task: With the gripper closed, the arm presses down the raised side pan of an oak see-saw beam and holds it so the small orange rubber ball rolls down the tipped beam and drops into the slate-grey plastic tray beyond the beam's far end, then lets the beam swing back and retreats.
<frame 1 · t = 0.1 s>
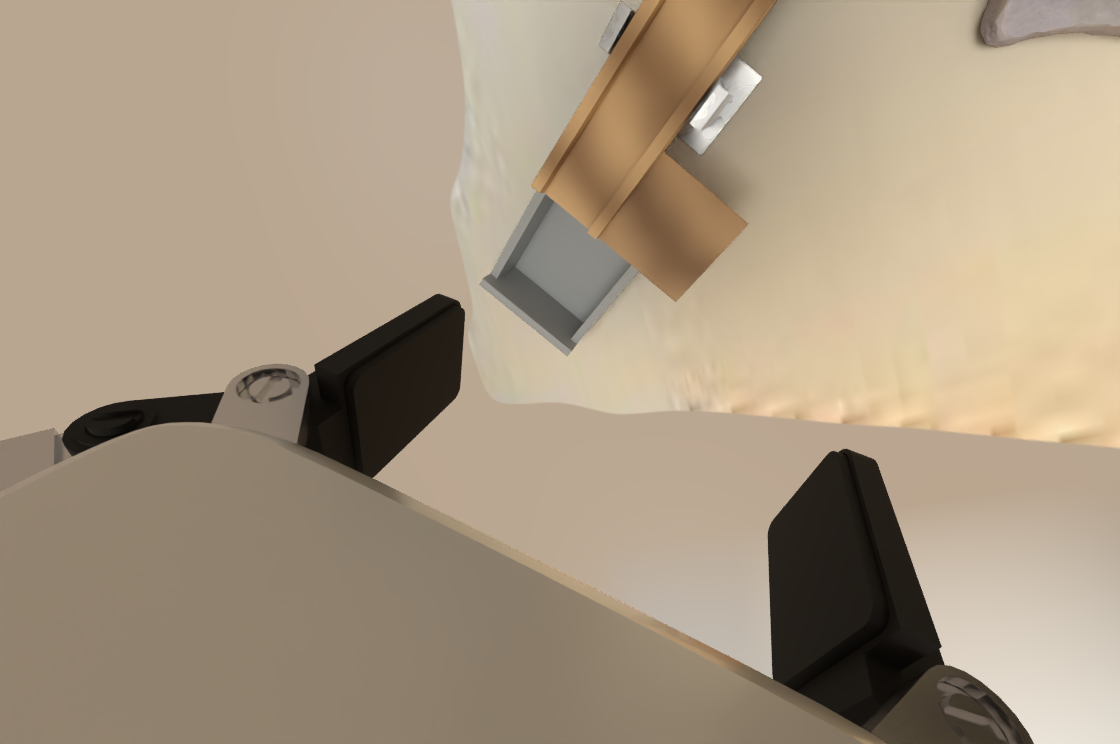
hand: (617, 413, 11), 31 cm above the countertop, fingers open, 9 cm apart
fulcrum: (679, 75, 32), on the countertop
tray: (574, 259, 42), on the countertop
seesaw: (714, 103, 27), point 6 cm above the countertop, hinge at -10.0°, touching ball
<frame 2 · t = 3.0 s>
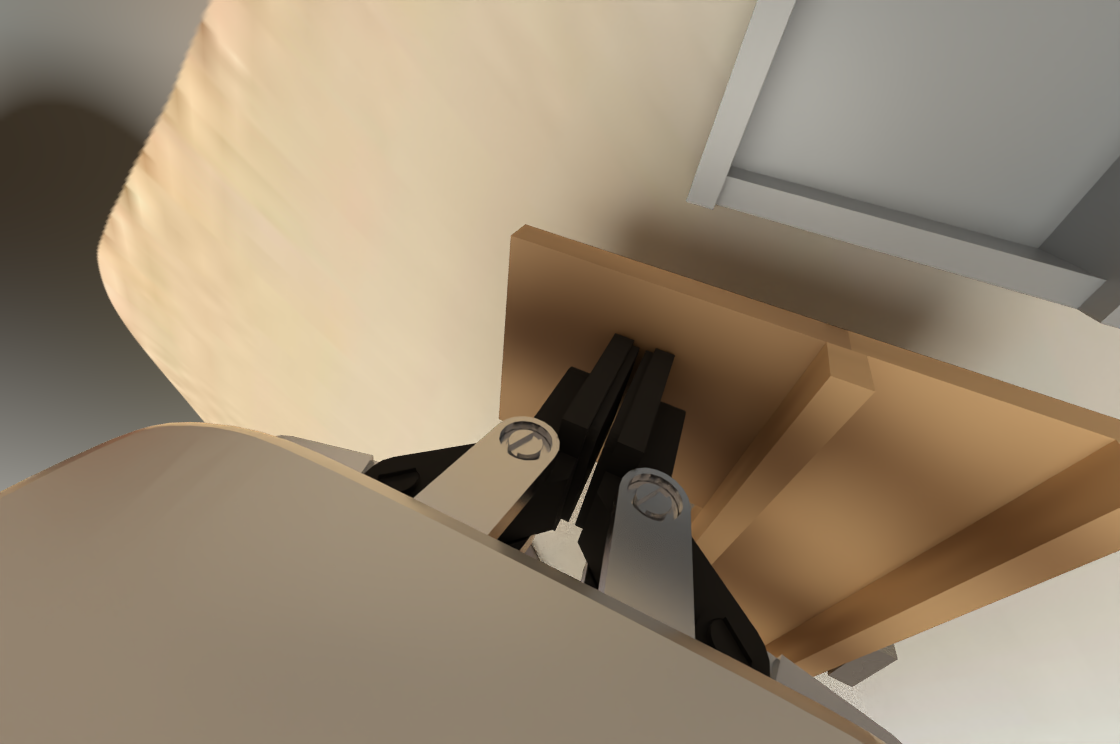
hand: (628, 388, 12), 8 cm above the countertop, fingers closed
fulcrum: (749, 465, 21), on the countertop
tray: (978, 23, 11), on the countertop
seesaw: (651, 532, 17), point 6 cm above the countertop, hinge at -7.8°, touching ball, gripper
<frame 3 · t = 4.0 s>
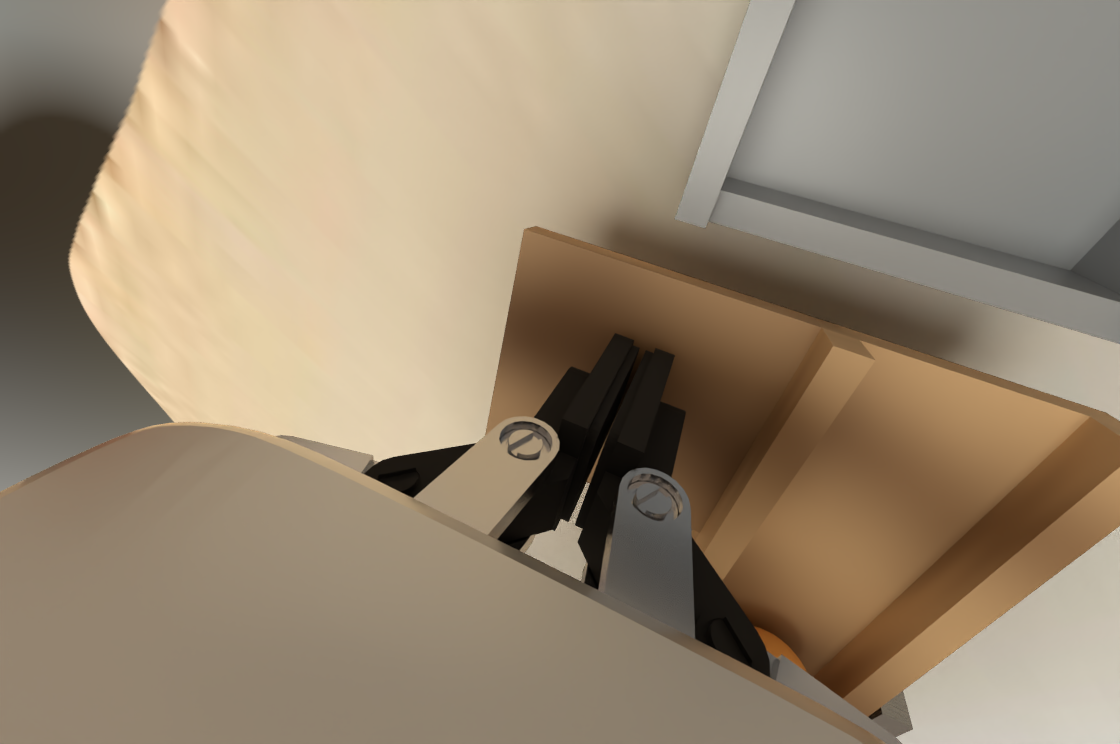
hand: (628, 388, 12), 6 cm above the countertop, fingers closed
fulcrum: (747, 494, 19), on the countertop
tray: (1006, 17, 10), on the countertop
ball: (753, 687, 12), point 8 cm above the countertop, tilted 37°, touching seesaw
seesaw: (639, 577, 16), point 6 cm above the countertop, hinge at 6.2°, touching ball, gripper
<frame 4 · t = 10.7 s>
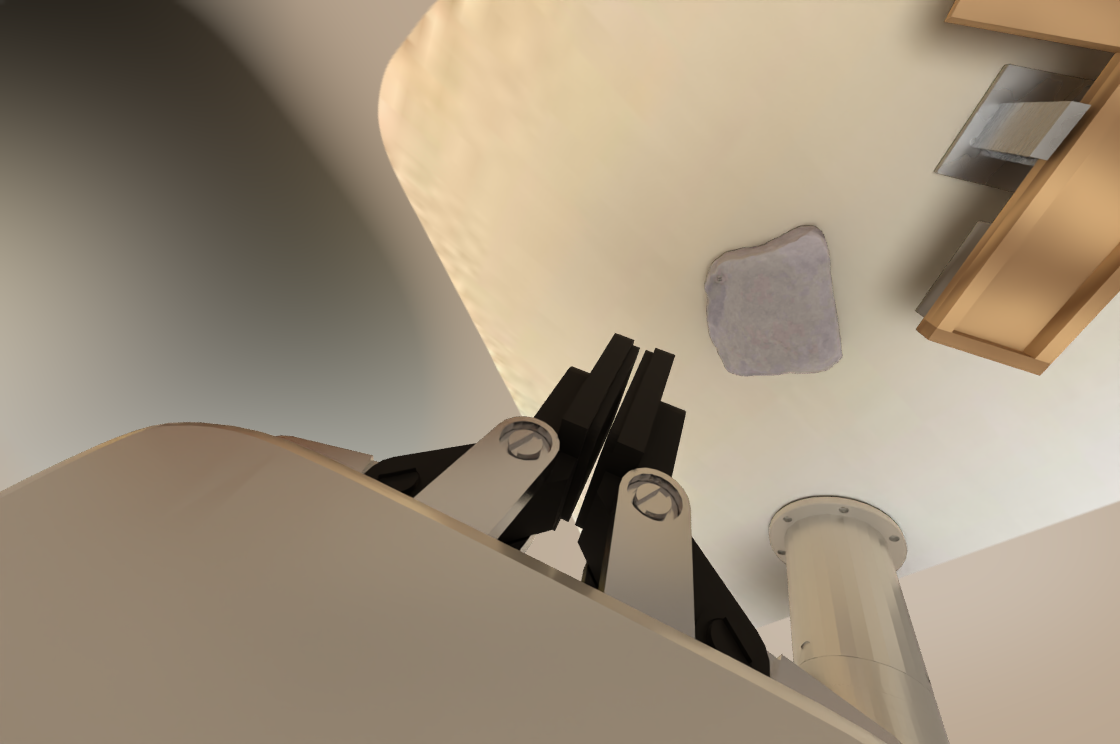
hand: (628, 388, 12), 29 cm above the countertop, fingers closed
fulcrum: (1055, 141, 26), on the countertop
seesaw: (1033, 139, 22), point 6 cm above the countertop, hinge at 6.5°
stone block: (765, 303, 37), on the countertop
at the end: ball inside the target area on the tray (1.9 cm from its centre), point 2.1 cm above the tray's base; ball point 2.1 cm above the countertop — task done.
